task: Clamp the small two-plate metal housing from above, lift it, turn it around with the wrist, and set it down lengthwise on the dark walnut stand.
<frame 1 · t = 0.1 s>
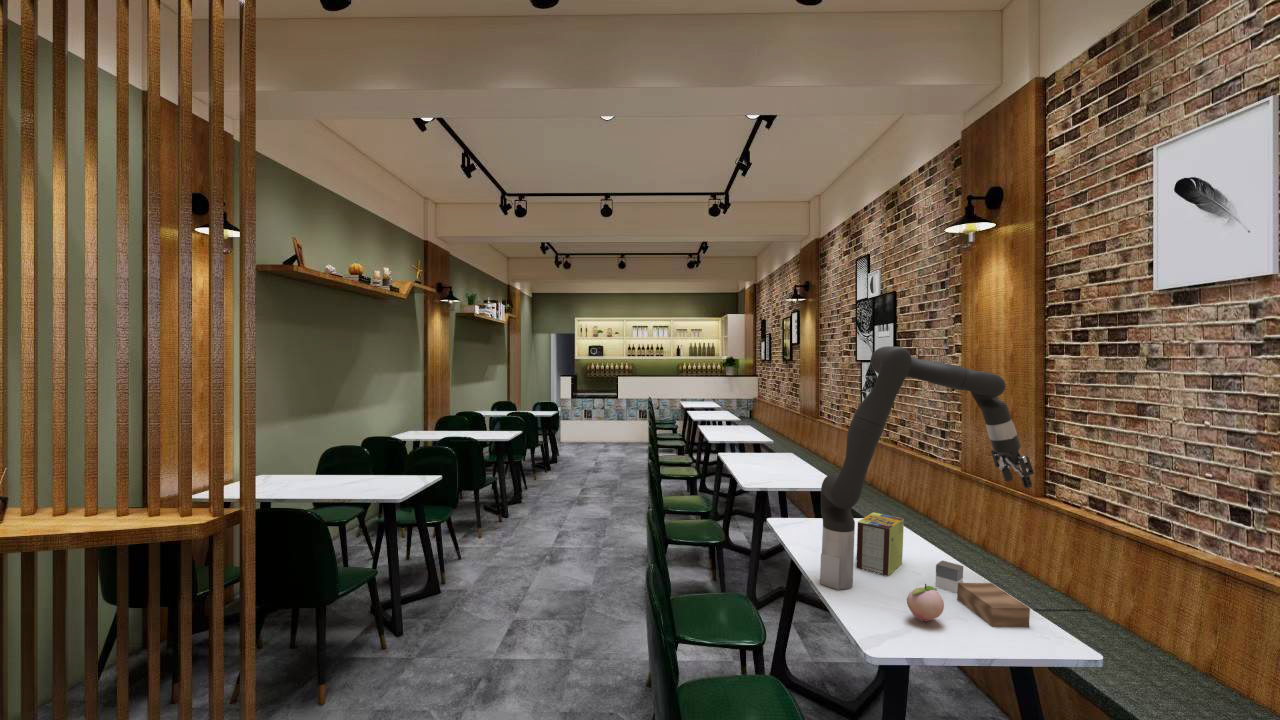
hand: (1018, 483, 181), 31 cm above the table, tool tilted 20°, fingers open, 8 cm apart
decorative fruit: (925, 622, 155), on the table
protein box: (879, 566, 195), on the table
housing: (948, 587, 178), on the table
walnut stand: (991, 612, 162), on the table
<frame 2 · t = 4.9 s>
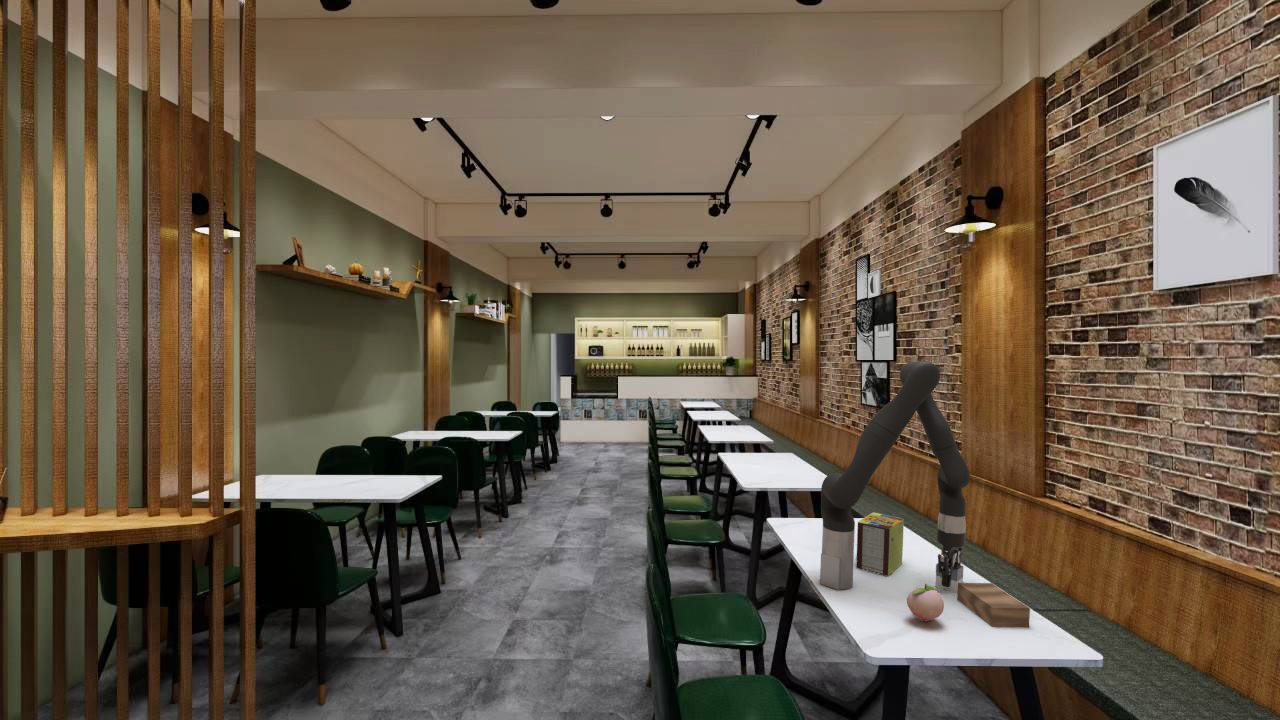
hand: (949, 583, 178), 1 cm above the table, tool pointing down, fingers closed on housing, 5 cm apart
housing: (949, 587, 178), on the table, touching gripper
everything else where it was.
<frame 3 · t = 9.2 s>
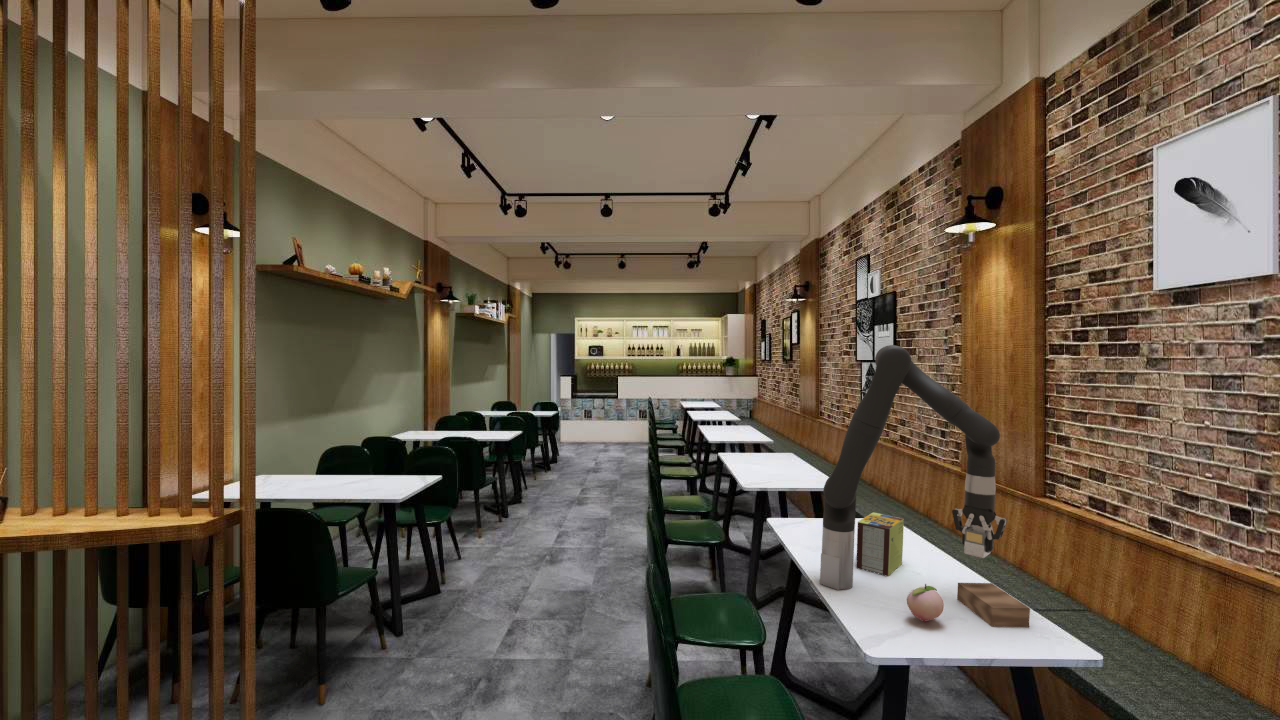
hand: (977, 548, 168), 16 cm above the table, tool pointing down, fingers closed on housing, 5 cm apart
housing: (977, 553, 168), point 14 cm above the table, touching gripper
everything else where it was.
when the fingers open (7 cm above the table, at t = 13.1 s): housing stays where it is, resting on walnut stand.
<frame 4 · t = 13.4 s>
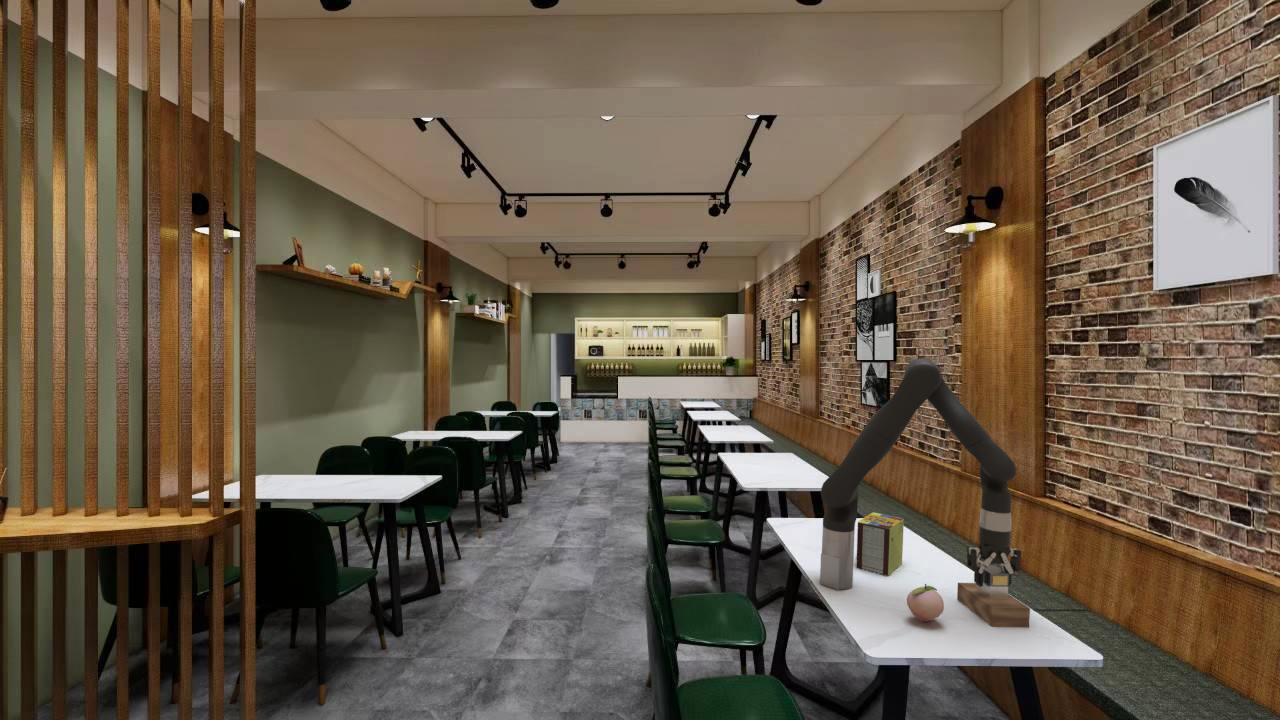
hand: (992, 585, 161), 8 cm above the table, tool pointing down, fingers open, 7 cm apart
housing: (991, 594, 162), point 5 cm above the table, touching walnut stand
everything else where it was.
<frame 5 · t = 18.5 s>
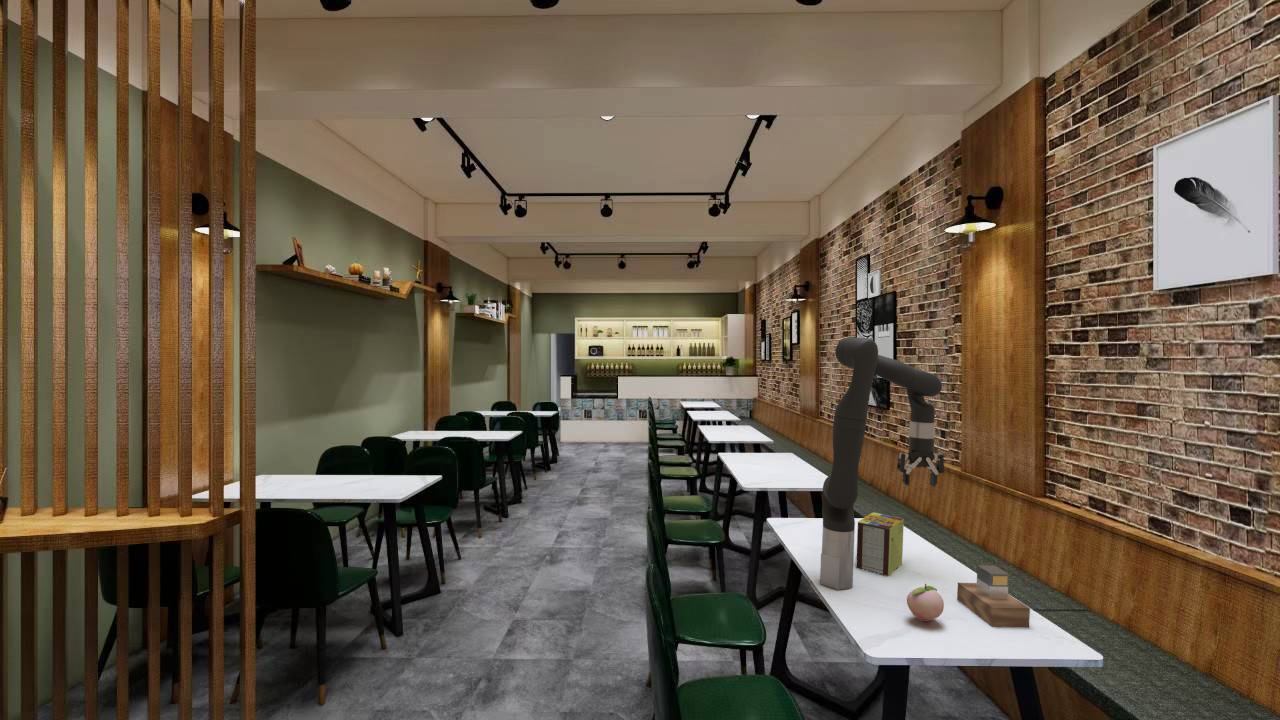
hand: (919, 485, 190), 28 cm above the table, tool pointing down, fingers open, 8 cm apart
nothing on the table moved.
at the end: housing inside the target area on the walnut stand (0.1 cm from its centre), point 5.0 cm above the walnut stand's base; housing tilted 0°; the gripper is holding nothing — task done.
